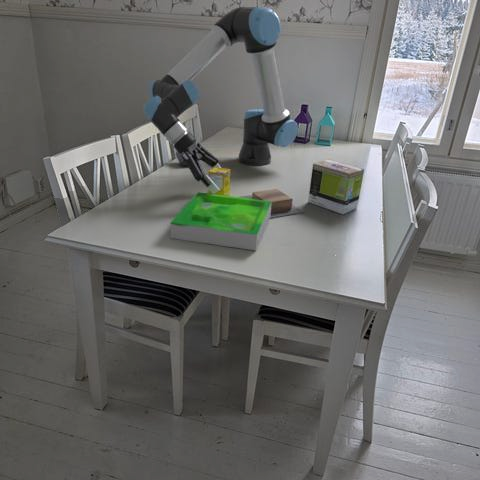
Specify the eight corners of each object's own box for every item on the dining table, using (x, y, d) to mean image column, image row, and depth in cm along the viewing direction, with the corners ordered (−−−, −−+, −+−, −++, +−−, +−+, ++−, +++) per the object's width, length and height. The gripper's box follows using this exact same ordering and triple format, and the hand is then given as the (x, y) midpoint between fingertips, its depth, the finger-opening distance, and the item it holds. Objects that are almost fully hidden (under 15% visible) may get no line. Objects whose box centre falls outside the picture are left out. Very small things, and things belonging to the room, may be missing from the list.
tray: (270, 215, 138) (271, 201, 136) (255, 250, 116) (257, 234, 114) (198, 205, 143) (198, 192, 140) (171, 238, 121) (170, 222, 119)
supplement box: (229, 198, 151) (230, 168, 146) (223, 203, 146) (224, 173, 141) (214, 195, 153) (215, 166, 148) (207, 201, 148) (208, 171, 143)
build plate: (235, 198, 151) (235, 186, 149) (272, 192, 158) (273, 181, 156) (263, 219, 136) (264, 207, 134) (303, 212, 143) (305, 200, 141)
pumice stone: (196, 173, 181) (200, 160, 189) (196, 157, 176) (200, 145, 183) (173, 170, 182) (178, 158, 189) (171, 155, 176) (177, 143, 184)
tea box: (357, 208, 149) (365, 168, 142) (342, 215, 142) (349, 173, 136) (322, 196, 158) (328, 157, 151) (306, 202, 152) (312, 162, 145)
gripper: (185, 137, 155) (223, 180, 159) (159, 154, 133) (204, 204, 137) (199, 124, 151) (237, 169, 156) (174, 139, 130) (220, 191, 134)
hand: (221, 185), depth 146 cm, fingers open, 13 cm apart
